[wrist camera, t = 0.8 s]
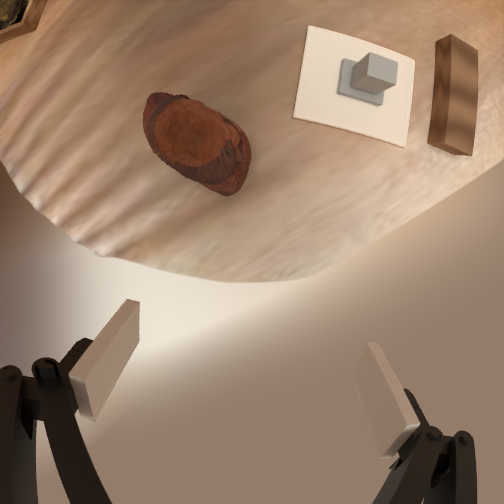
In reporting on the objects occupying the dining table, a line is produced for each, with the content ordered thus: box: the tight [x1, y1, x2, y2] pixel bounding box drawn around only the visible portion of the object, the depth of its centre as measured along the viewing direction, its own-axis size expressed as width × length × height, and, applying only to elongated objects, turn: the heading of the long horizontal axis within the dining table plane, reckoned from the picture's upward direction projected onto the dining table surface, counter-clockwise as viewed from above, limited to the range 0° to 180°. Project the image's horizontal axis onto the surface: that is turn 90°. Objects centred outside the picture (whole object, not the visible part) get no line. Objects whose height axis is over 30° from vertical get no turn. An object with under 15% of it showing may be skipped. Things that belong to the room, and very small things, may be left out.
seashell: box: [0, 0, 29, 30], centre depth 24 cm, size 16×9×7 cm, turn 56°
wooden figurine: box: [143, 92, 251, 196], centre depth 28 cm, size 12×6×18 cm, turn 53°
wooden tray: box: [0, 0, 47, 43], centre depth 24 cm, size 15×22×4 cm
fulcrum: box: [293, 26, 415, 148], centre depth 29 cm, size 14×16×9 cm
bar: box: [427, 34, 478, 156], centre depth 31 cm, size 18×6×5 cm, turn 170°
